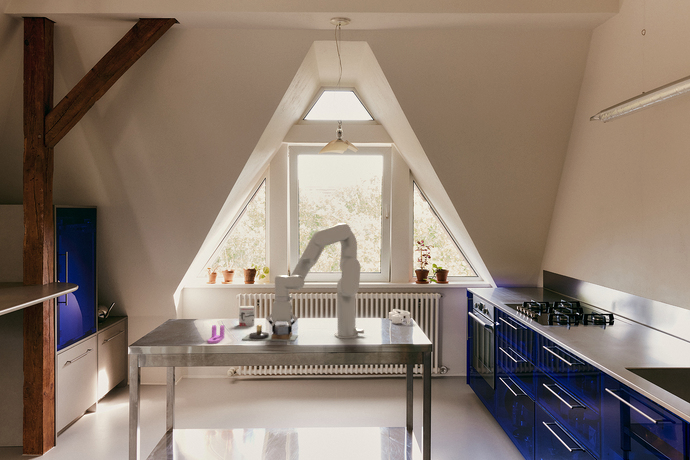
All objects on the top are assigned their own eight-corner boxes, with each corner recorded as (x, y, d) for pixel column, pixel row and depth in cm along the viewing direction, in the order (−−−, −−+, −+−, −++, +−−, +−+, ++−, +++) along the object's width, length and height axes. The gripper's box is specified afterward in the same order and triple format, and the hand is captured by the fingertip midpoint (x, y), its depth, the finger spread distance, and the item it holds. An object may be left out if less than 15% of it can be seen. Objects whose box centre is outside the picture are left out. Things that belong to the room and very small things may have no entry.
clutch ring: (290, 332, 246) (290, 324, 246) (287, 335, 239) (287, 327, 239) (276, 331, 247) (276, 324, 247) (273, 334, 239) (273, 327, 239)
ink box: (239, 327, 271) (239, 307, 271) (239, 326, 276) (239, 306, 276) (254, 327, 273) (254, 306, 273) (253, 325, 278) (254, 305, 278)
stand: (292, 335, 247) (292, 323, 247) (288, 339, 238) (288, 327, 238) (275, 335, 248) (275, 323, 248) (271, 339, 239) (271, 326, 239)
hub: (270, 335, 248) (270, 323, 248) (266, 339, 238) (266, 327, 238) (252, 334, 249) (252, 323, 249) (247, 338, 239) (247, 327, 239)
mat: (298, 336, 248) (298, 335, 248) (294, 341, 237) (294, 339, 237) (247, 335, 250) (247, 334, 250) (241, 340, 239) (241, 339, 239)
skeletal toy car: (387, 320, 295) (387, 309, 295) (404, 320, 296) (404, 308, 296) (393, 326, 275) (393, 314, 276) (411, 326, 276) (411, 314, 276)
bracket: (213, 338, 245) (213, 324, 245) (224, 338, 245) (224, 324, 245) (206, 343, 232) (206, 329, 232) (217, 343, 232) (217, 329, 232)
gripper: (299, 298, 246) (299, 332, 246) (267, 298, 247) (267, 331, 247) (297, 300, 239) (297, 335, 238) (263, 300, 240) (263, 334, 240)
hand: (281, 333), depth 243 cm, fingers closed on clutch ring, stand, 7 cm apart
